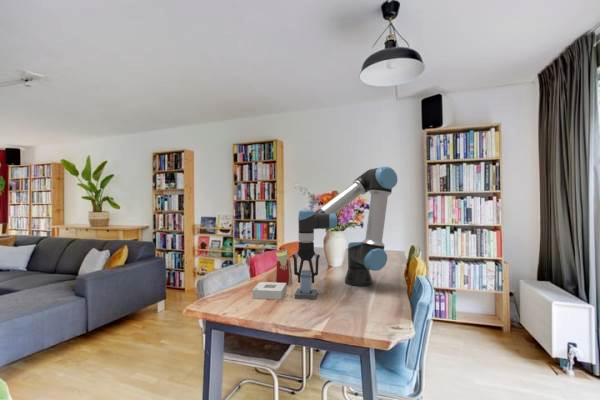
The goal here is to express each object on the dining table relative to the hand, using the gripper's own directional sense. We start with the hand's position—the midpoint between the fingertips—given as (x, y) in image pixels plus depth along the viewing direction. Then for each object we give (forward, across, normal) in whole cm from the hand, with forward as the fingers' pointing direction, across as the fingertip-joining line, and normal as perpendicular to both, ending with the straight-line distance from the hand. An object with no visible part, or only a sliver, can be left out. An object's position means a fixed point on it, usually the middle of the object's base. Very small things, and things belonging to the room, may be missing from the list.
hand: (306, 289), depth 143 cm
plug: (+3, 0, 0) cm, 3 cm away
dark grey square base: (+3, 0, 0) cm, 3 cm away
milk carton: (+3, +15, -19) cm, 24 cm away
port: (+3, +18, 0) cm, 18 cm away
